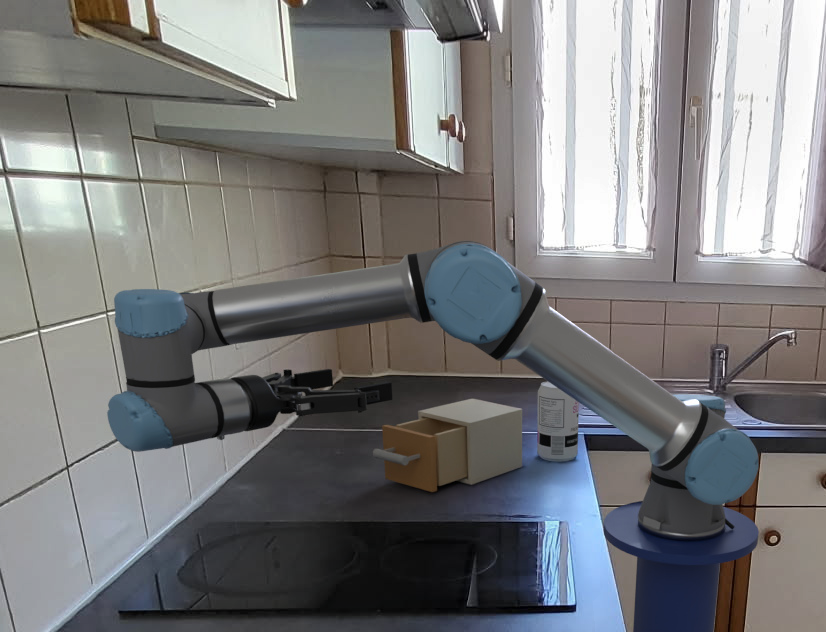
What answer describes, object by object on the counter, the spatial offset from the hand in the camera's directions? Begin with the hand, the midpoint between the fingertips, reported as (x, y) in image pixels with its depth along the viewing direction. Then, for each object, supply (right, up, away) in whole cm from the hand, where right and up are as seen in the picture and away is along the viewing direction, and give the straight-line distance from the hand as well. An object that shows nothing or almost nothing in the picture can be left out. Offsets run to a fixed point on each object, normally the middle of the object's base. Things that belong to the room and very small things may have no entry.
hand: (360, 383), depth 131 cm
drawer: (+6, -14, +18) cm, 23 cm away
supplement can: (+27, -8, +39) cm, 48 cm away
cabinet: (+12, -12, +28) cm, 32 cm away
